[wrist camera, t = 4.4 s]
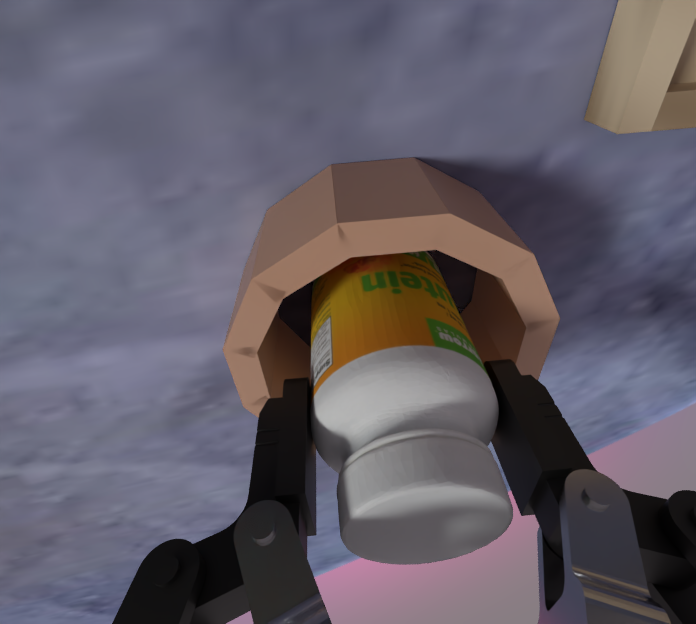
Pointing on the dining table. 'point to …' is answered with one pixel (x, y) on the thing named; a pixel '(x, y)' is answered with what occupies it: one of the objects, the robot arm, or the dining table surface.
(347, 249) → the holder ring
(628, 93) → the tray
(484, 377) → the supplement bottle
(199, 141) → the dining table surface
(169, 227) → the dining table surface
